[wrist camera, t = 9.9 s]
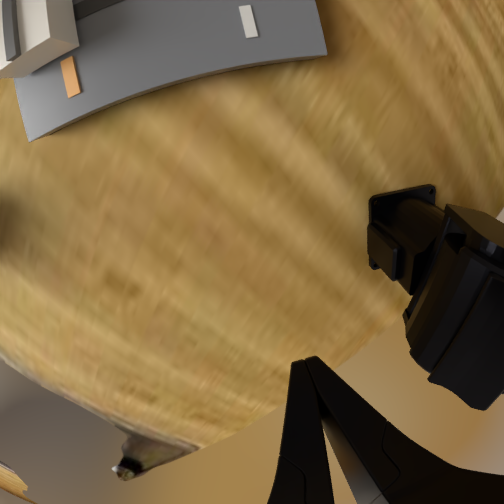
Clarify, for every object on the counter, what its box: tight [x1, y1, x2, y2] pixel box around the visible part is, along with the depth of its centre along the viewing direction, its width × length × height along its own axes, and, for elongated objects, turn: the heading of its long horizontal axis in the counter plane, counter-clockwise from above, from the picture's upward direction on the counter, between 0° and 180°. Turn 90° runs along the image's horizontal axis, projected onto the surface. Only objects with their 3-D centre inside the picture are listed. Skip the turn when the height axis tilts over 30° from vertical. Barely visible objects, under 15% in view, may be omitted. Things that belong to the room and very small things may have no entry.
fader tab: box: [0, 0, 79, 78], centre depth 8 cm, size 4×5×4 cm
